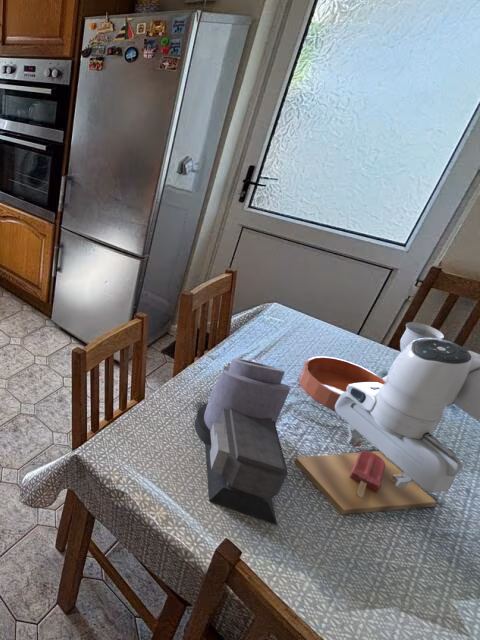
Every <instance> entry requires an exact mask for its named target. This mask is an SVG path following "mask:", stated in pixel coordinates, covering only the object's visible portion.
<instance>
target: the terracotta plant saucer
mask: <svg viewBox="0 0 480 640" xmlns="http://www.w3.org/2000/svg"><path fill="white" fill-rule="evenodd" d="M361 382H378V383H380V384H383V385H384V384H385V383H386V382H385V381H384V380H383V379H382V377H380V376H378V375H377V374H375V373H374V372H373V371H371V370H369V369H367V368H365V367H363V366H361V365H359V364H356V363H354V362H351V361H349V360H345V359H341V358H339V357H332V356H326V355H325V356H324V355H322V356H319V355H318V356H312V357H309V358H308V359H306V360H305V362H304V364H303V366H302V368H301V371H300V372H299V374H298V383H299V385H300V387H301V388H302V390H303V391H304V392H305V393H306V394H307V395H308V396H309V397H310V398H312V399H313V400H315V401H316V402H318V403H319V404H320V405H322V406H325V407H327V408H328V409H330V410H331V411H332V410H333V411H335V412H336V410H335V404H336V402H337V400H338V398H339V397H340V395H341V394H342V393H343V392H345V391H347V390H346V389H347V386H348V385H349V384H353V383H361Z"/></svg>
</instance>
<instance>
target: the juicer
mask: <svg viewBox="0 0 480 640" xmlns="http://www.w3.org/2000/svg"><path fill="white" fill-rule="evenodd" d="M230 362H231V365H230V368H229V371H227V370H224V371H223V372H222V371H221V372H222V373H221V372H220V375H219V377H218V379H217V381H216V384H214V386H212V388H211V392H210V395H209V397H208V401H207V403H204V404H203V405H201V406H200V407H198V408H197V409H198V410H197V413H196V415H195V419H194V429H195V432H196V435H197V436H198V438H199V439H200V441H201V442H202V443H203V445H205V446H204V448H205V450H204V451H205V462H206V479H207V490H208V502H210V503H213V504H216V505H218V506H221V507H224V508H227V509H230V510H233V511H236V512H238V513H241V514H244V515H247V516H249V517H252V518H255V519H258V520H261V521H264V522H266V523H269V524H272V525H275V526H278V521H277V516H276V512H275V511H276V510H275V507H274V502H273V498H274V497H277V496H278V495H279V493H280V491H281V489H282V487H283V485H284V482H285V481H286V478H287V477H288V474H289V471H288V468H287V464H286V460H285V456H284V451H283V449H282V444H281V441H280V437H279V433H278V429H277V426H276V424H277V422H278V419H279V417H280V414H281V412H282V410H283V407H284V405H285V403H286V400H287V398H288V397H289V393H290V391H291V387H290V385H289V384H285V383H282V380H283V378H284V376H285V374H286V373H285V370H283V369H281V368H278V367H276V366H272V365H268V364H264V363H260V362H257V361H256V362H252V361H251V360H247V359H243V358H237V357H234V358H232V359H231V361H230Z"/></svg>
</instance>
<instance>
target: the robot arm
mask: <svg viewBox="0 0 480 640" xmlns="http://www.w3.org/2000/svg"><path fill="white" fill-rule="evenodd" d="M386 376H387V382H386V383H385V384H384V385H383V384H380V383H378V382H361V383H353V384H349V385H348V386H347V389H346V390H347V391H345V392H343V393H342V394H341V395H340V397H339V398H338V400H337V402H336V404H335V410H336V411H335V410H334V411H335V413H336V415H338V416H339V417H340V418H342V419H343V420H344V422H346V423H347V427H346V428H347V430H348V438H347V440H346V441H347V442H348V443H349V444H350V445H351V446H352V447H353V448H356V447H361V446H362V444H363V443H364V440H363V439H362V438H361V436H362V437H363V438H365V439H366V440H367V441H368V442H369V443H370V444H371V445H372V446H374V447H375V449H377V451H380V452H381V453H382V454H383V455H384V456H385V457H386V458H388V459H389V460H390V461H391V462H392V463H393V464H394V465H395V466H397V467H398V468H399V469H400V470H401V471H402V472H403V475H393V477H392V479H391V482H393V483H394V484H395V485H396V486H397V487H398V488H403V487H406V486H407V484H408V483H409V482H413V481H414V482H415V483H416V484H417V485H418V486H419V487H420V488H422V489H423V490H424V491H425V492H427V493H428V492H429V493H443V492H447V491H449V490H450V489H451V487H452V485H453V484H454V482H455V479H456V477H457V475H458V474H459V473H460V471H461V470H462V468H463V464H462V463H461V461H460V459H459V458H458V457H457V454H456V452H455V451H453V450H452V449H451V448H449V447H448V446H446V445H445V444H443V443H442V442H441V441H440V440H439V439H438V438H436V437H435V436H433V434H434V432H435V431H436V429H437V427H438V426H439V425H440V423H441V421H442V420H443V419H444V416H445V411H446V407H447V406H448V405H454V406H455V407H457V408H458V409H460V410H462V411H463V412H464V413H465V414H467V415H468V416H470V417H471V418H473V419H474V420H476V421H477V422H478V423H480V353H477V352H475V351H472V350H470V349H467V348H465V347H463V346H461V345H460V344H458V343H455V342H453V341H449V340H446V339H443V338H441V339H437V338H420V339H416V340H414V341H412V342H411V343H410V344H408V345H407V346H406V347H405V348H404V349H403V350H402V352H401V351H400V353H399V354H398V356H397V357H396V358H395V359H394V361H393V363H392V365H391V366H390V368H389V370H388V372H387V375H386ZM405 477H406V478H405Z"/></svg>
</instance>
